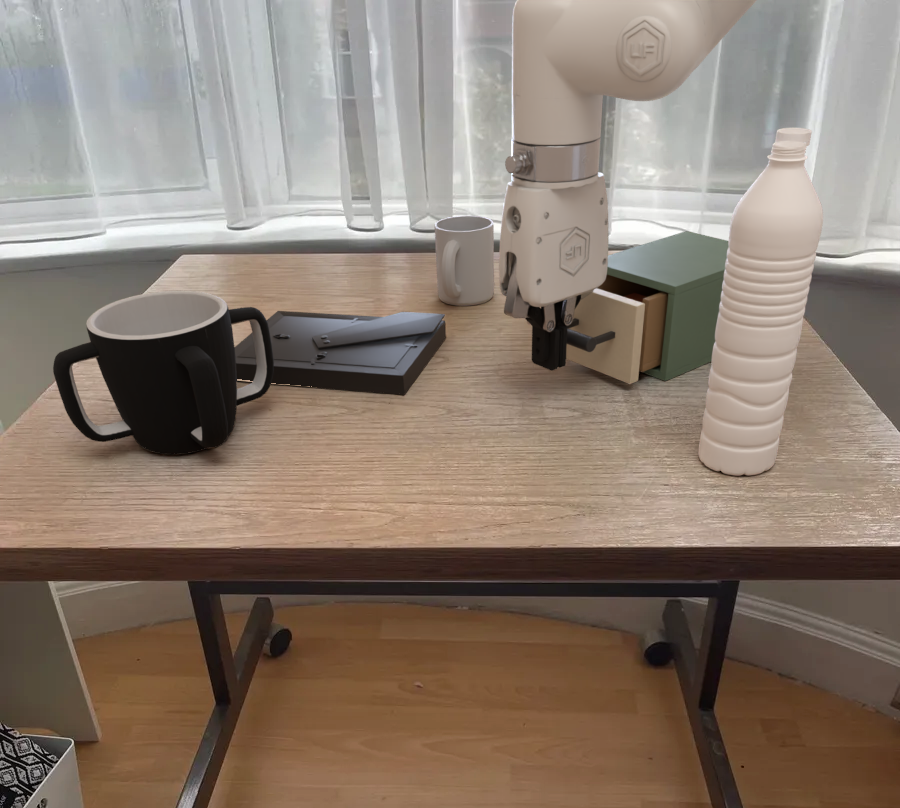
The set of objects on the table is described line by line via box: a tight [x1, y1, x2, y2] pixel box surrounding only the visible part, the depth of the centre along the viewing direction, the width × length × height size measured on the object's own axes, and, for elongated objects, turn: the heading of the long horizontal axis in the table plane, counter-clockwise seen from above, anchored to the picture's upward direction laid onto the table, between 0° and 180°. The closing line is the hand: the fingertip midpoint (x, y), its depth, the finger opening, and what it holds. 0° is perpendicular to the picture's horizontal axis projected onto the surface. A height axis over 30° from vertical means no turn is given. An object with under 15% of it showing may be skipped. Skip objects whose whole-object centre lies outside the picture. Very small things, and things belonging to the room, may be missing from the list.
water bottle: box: [697, 127, 824, 476], centre depth 71 cm, size 9×6×25 cm
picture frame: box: [234, 310, 447, 396], centre depth 99 cm, size 16×3×21 cm
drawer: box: [566, 275, 669, 385], centre depth 93 cm, size 19×10×8 cm, turn 129°
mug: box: [52, 290, 274, 455], centre depth 82 cm, size 16×16×12 cm
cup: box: [434, 215, 495, 307], centre depth 111 cm, size 7×10×9 cm
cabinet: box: [607, 230, 729, 382], centre depth 96 cm, size 16×12×10 cm
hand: (548, 364), depth 88 cm, fingers closed
